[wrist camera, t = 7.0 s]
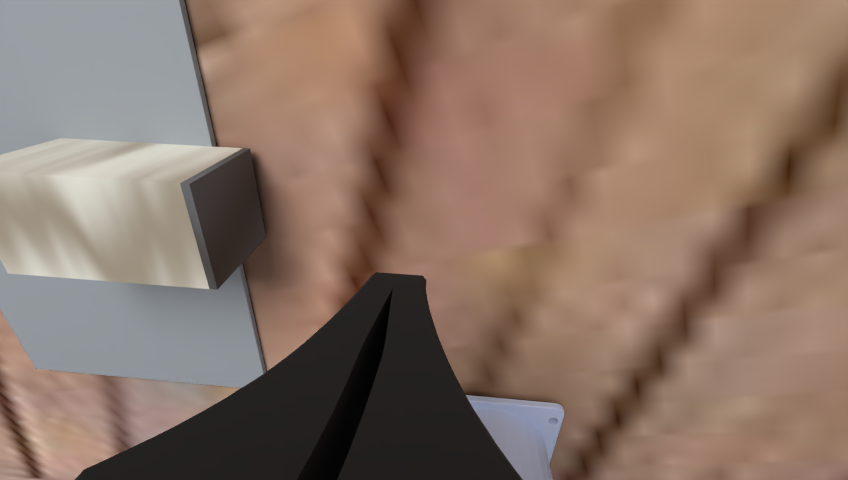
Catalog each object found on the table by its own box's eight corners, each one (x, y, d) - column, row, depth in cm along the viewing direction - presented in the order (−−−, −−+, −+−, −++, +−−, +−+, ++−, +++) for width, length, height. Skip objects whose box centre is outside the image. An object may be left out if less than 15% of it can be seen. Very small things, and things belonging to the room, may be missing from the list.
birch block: (217, 289, 14) (8, 273, 15) (265, 237, 18) (95, 225, 18) (189, 184, 12) (-52, 169, 13) (249, 148, 16) (60, 138, 16)
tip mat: (269, 385, 23) (266, 390, 23) (40, 364, 24) (35, 368, 23) (139, -203, 11) (131, -209, 11) (-298, -205, 12) (-315, -211, 12)
